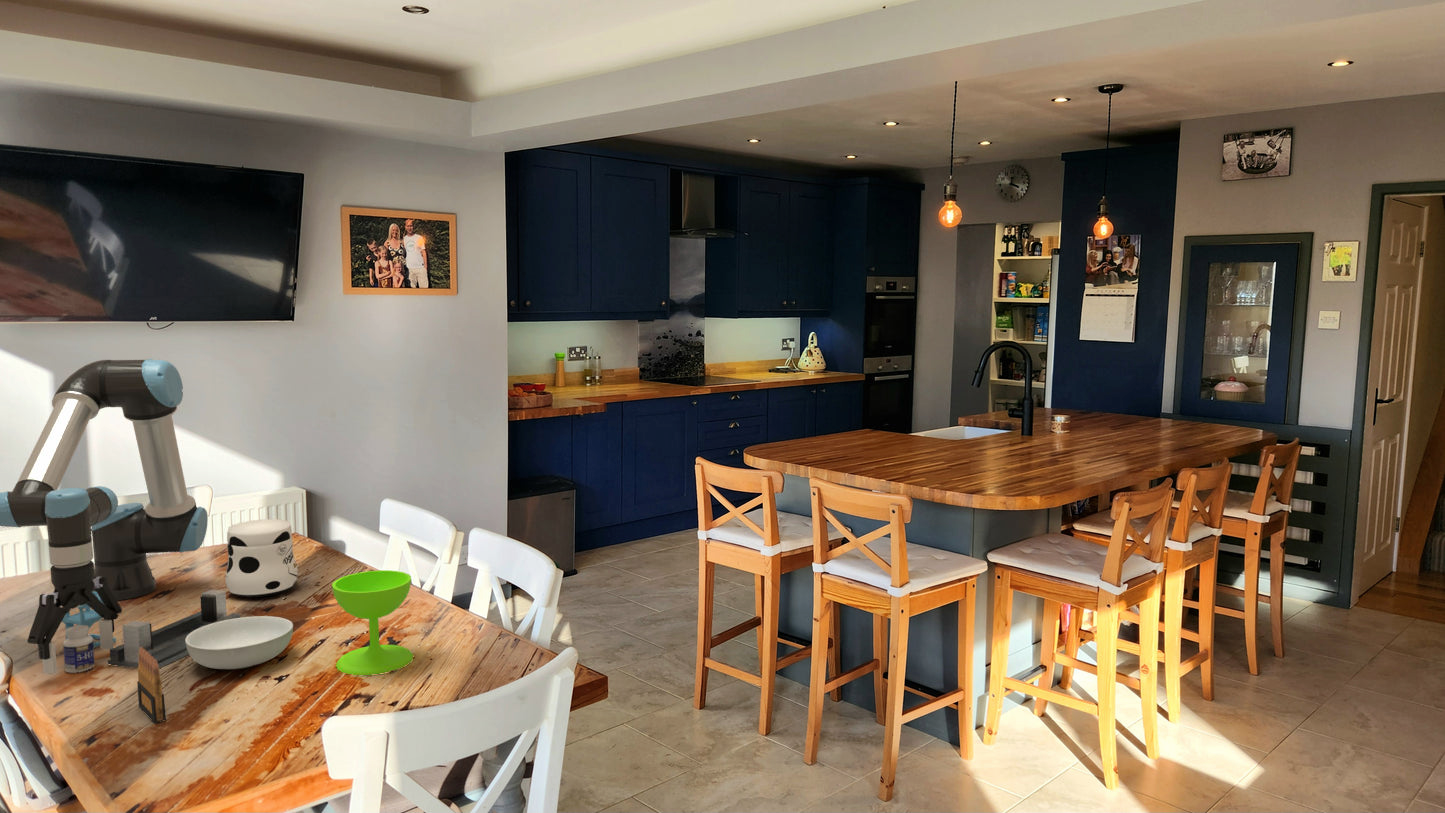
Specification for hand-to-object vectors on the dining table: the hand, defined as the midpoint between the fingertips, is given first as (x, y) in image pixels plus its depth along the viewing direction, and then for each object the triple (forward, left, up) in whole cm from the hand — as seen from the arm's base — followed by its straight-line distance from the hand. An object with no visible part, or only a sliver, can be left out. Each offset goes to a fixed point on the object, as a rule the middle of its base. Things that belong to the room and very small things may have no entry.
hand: (79, 660), depth 202 cm
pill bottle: (0, 0, -2) cm, 2 cm away
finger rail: (-16, +10, -2) cm, 19 cm away
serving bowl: (-12, +30, -2) cm, 32 cm away
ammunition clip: (+14, +32, -2) cm, 35 cm away
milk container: (-54, +1, -2) cm, 54 cm away
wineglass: (-19, +58, -2) cm, 61 cm away
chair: (-11, -10, -2) cm, 15 cm away
